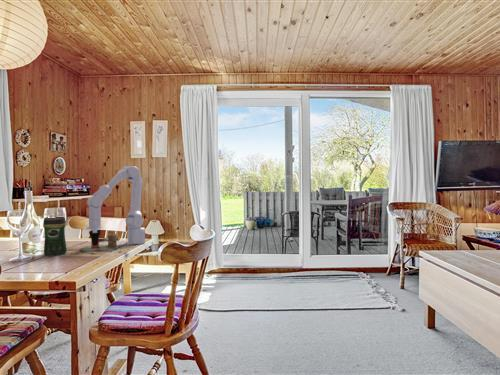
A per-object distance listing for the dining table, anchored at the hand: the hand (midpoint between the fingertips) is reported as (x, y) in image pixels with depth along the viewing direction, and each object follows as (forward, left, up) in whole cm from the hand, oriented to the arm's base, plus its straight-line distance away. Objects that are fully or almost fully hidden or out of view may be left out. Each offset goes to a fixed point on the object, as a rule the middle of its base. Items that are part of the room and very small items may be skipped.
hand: (95, 244), depth 179 cm
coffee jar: (+18, +6, -2) cm, 19 cm away
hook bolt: (-5, 0, -1) cm, 5 cm away
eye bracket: (-2, 0, -2) cm, 3 cm away
